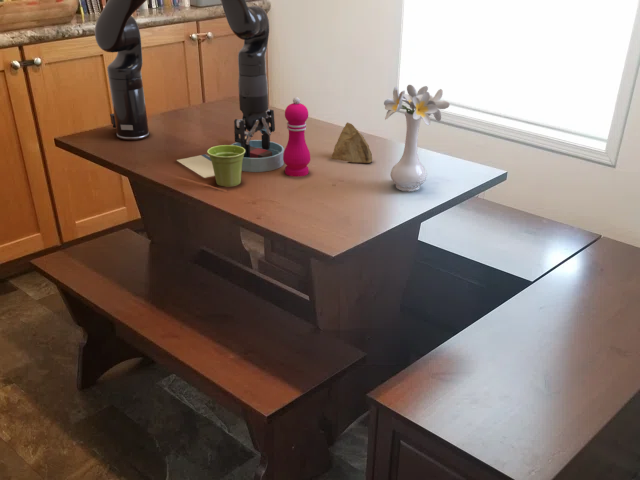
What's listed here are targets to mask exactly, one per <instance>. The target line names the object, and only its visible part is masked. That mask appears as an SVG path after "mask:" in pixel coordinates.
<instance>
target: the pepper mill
mask: <svg viewBox="0 0 640 480" xmlns="http://www.w3.org/2000/svg"><path fill="white" fill-rule="evenodd" d="M300 102H301V99H300V98H299V97H298V96H295V97H293V99H292V103H290V104H288V105H287V106H286V108H285V110H284V118H285V120H286V121H287V123H286V129H287V130H288V139H287V143H286V146H285V147H284V154H283V161H284V164H285V167H284V174H285V175H286V176H289V177H295V178H296V177H298V178H299V177H305V176H307V175H308V174H309V172H310V171H309V170H310V168H309V166H308V165H309V164H310V162H311V153H310V149H309V147H308V145H307V142H306V137H305V132H306V130H307V122H306V121H308V119H309V110H308V107H307V106H306V105H304V104H303V103H300Z"/></svg>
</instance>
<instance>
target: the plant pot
mask: <svg viewBox="0 0 640 480" xmlns="http://www.w3.org/2000/svg"><path fill="white" fill-rule="evenodd" d="M244 153H245V149H244V148H243V147H240V146H235V145H231V144H221V145H214V146H212V147H210V148H208V149H207V151H206V154H207V155H208V156H209V157H210V159H211V161H212V165H213V169H214V174H215V176H214V178H215V182H216V183H215V184H216V185H218V186H220V187H226V188H227V187H230V188H231V187H235V186H238V185H240V184H241V183H242V172H243V171H242V160H243V157H244Z"/></svg>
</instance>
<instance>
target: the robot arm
mask: <svg viewBox="0 0 640 480" xmlns="http://www.w3.org/2000/svg"><path fill="white" fill-rule="evenodd" d="M146 2H147V0H107V2H106V4H105V5H104V7H103V9H102V11H101V12H100V14H99V16H98V17H97V20H96V23H95V27H94V38H95V41H96V44H97V46H98V47H99V48H100V49H101V50H102V51H104V52H106V53H113V54H114V53H116V57H115V58H114V59H113V61H112V62H110V63H109V64H108V65H107V68H106V70H107V71H106V72H107V78H108V83H109V89H110V96H111V103H112V109H113V113H109V117H110V123H111V125H112V128H113V129H115V130H116V137H117V138H118V139H119V140H123V141H138V140H145V139H146V138H149V137H150V130H149V123H148V114H147V107H146V106H147V105H146V99H145V90H144V83H143V75H142V67H143V65H144V64H143V63H144V62H143V50H142V48H143V47H142V36H141V31H140V27H139V25H138V22H137V21H136V19H135V18H134V17H133V16H132V15H133V14H134V13H136V11H137V10H139V8H141V6H142V5H144V4H145V3H146ZM220 3H221V6H222V9H223V13H224V15H225V18H226V21H227V24H228V26H229V29H230V30H231V32H232V33H233V34H234V36H236V37H237V38H238V39H240V40H243V46H242V48H240V49H239V51H238V54H237V67H238V78H237V79H238V81H237V83H238V84H237V87H238V102H239V103H238V104H239V110H240V112H241V113H242V118H239V119H237V118H235V119H234V121H233V127H234V128H233V129H234V130H233V131H234V132H235V133H234V132H233V133H234V143H236V142H237V143H240V144H241V147H243V148H244V149H245V153H244V157H246V158H249V157H250V144H249V142H250V140H252V139H251V138H253V137H254V135H255V133H257V132H258V131H259V132H260V134H261V140H262V148H263V149H266V150H268V149H270V141H271V135H272V133H273V132H274V133H275V131H276V124H275V122H276V121H275V111H274V109H270V108H269V88H268V87H269V86H268V77H267V59H266V55H267V50H268V43H269V37H270V36H269V35H270V19H269V16H268V14H267V11H266V10H265V9H264V8H263V7H261V6H260V5H249V6H248V4H247V1H246V0H220ZM239 134H240V138H239ZM245 136H246V137H247V138H246V139H245Z"/></svg>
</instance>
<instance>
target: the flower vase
mask: <svg viewBox="0 0 640 480" xmlns="http://www.w3.org/2000/svg"><path fill="white" fill-rule="evenodd" d="M428 90H429V86H428V85H424V86H421V87H420V88H419V89H418V90H417V89H416V88H415V86H414V85H412V84H407V86H406V90H402V91H401V92H400V90H399V88H398V86H394V88H393V90H392V98H386V99H385V100H384V102H383V105H384V110H386V114H385V117H384V120H385V121H386V120H388V119H389V118H390V117H392V116H393V115H394V114H395V113H397V112H398V111H400V110H405V112H404V116H405V119H406V120H405V122H406V123H405V124H406V133H405V140H404V141H405V143H404V149H403V153H402V155H401V157H400V160H398V162H397V163H395V164H394V165H393V166H392V168H391V171H390V178H391V181H392V182H393V183H394V184H395V188H396V189H397V190H399V191H402V192H409V193H411V192H416V191H419V190H420V187H421V186H422V185H423V184H424V183H425V182H426V181H427V178H428V173H427V170H426V168H425V166H424V165H423V164H422V163H421V161H420V158H419V152H418V148H419V147H418V146H419V129H420V125H421V121H423V122H424V124H425V125H426V126H429V125H431V117H430V116H431V115H433V117H434V118H435V120H436V121H437V122H440V121H441V120H442V113H441V110H445V109H448V108H449V107H450V102H449V101H447V100H441V99H442V97H443V94H444V93H443V89H441V88H439V89H438V90H437V91H436V93H435V95H434V96H432V95H431V94H430V92H429V91H428ZM406 91H407V93H406ZM403 103H405V104H407V105H408V106H409V108H408V107H407V106H406V105H404V104H403Z"/></svg>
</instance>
